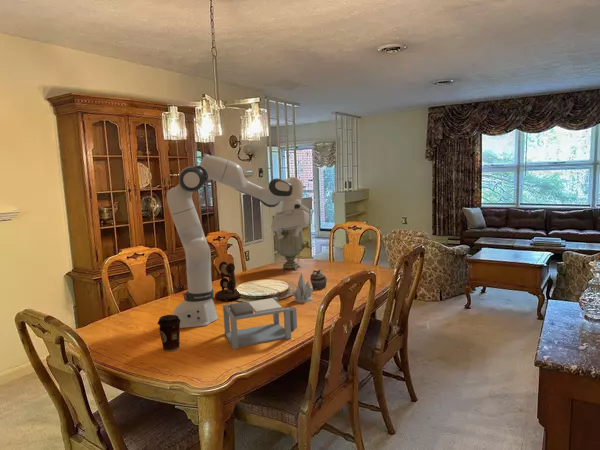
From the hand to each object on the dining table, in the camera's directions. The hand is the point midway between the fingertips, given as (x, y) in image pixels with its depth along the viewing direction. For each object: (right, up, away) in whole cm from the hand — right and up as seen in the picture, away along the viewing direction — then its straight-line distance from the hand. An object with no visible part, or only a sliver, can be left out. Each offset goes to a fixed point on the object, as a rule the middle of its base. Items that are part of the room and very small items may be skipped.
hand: (287, 237), depth 193 cm
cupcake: (+17, -31, +50) cm, 61 cm away
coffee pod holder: (-34, -35, +37) cm, 61 cm away
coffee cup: (-46, -44, -27) cm, 69 cm away
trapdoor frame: (-12, -41, -18) cm, 46 cm away
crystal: (+8, -34, +29) cm, 45 cm away
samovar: (+1, -25, +96) cm, 99 cm away
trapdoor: (-13, -30, -19) cm, 38 cm away
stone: (+2, -39, -12) cm, 41 cm away
